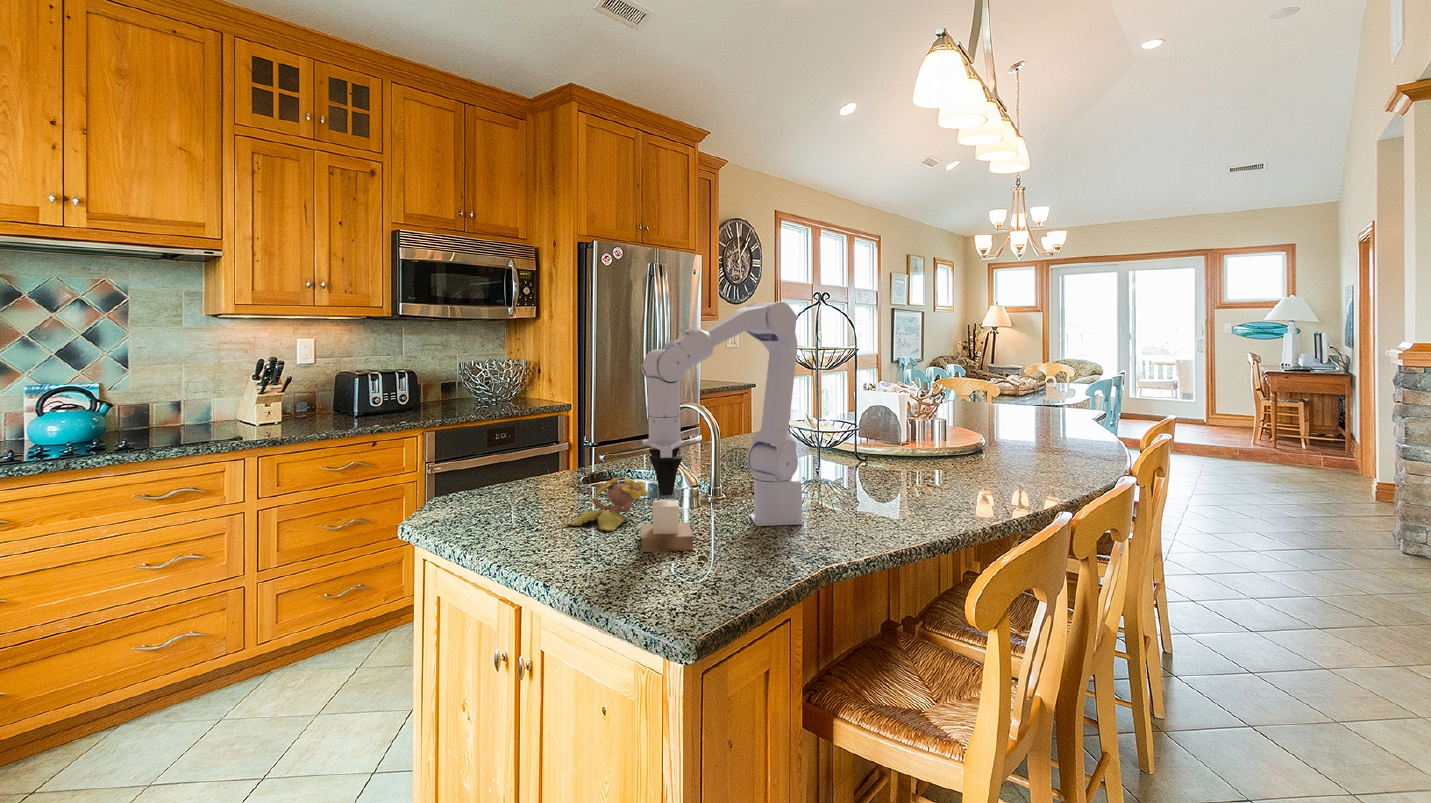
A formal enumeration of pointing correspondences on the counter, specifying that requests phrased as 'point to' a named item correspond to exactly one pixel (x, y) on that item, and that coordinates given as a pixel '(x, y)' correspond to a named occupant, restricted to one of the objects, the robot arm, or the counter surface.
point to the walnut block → (666, 539)
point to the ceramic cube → (666, 517)
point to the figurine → (619, 497)
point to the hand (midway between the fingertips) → (665, 490)
